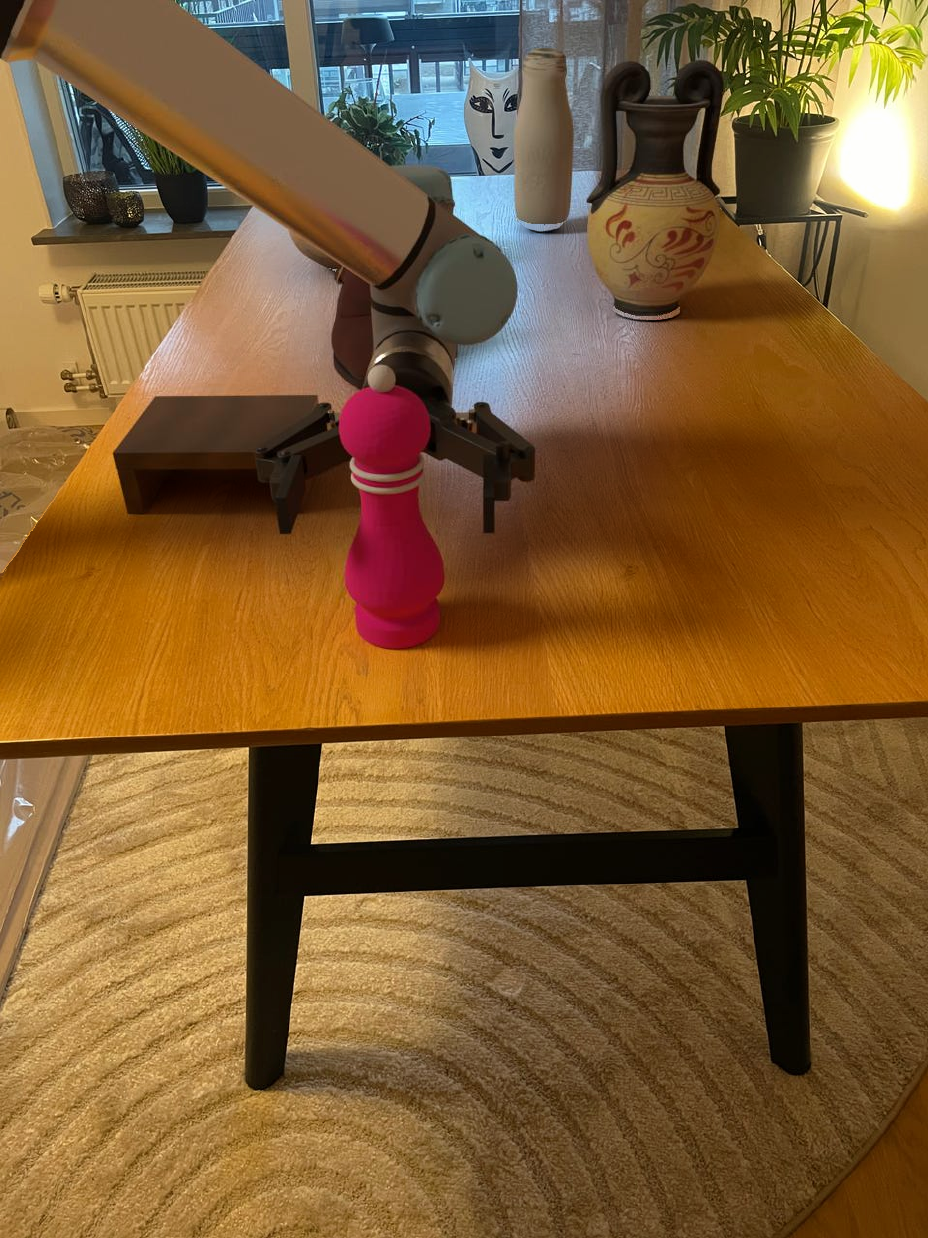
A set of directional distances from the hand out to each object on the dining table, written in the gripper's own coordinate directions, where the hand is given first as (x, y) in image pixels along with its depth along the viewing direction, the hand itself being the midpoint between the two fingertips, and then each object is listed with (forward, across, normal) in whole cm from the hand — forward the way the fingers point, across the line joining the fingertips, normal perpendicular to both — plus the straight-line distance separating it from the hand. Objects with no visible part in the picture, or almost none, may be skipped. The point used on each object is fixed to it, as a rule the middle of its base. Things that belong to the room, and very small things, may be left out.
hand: (385, 516), depth 64 cm
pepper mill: (-3, 0, -11) cm, 12 cm away
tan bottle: (-125, -16, -11) cm, 126 cm away
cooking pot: (-101, +15, -11) cm, 103 cm away
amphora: (-78, -28, -11) cm, 84 cm away
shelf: (-27, +18, -11) cm, 34 cm away
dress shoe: (-61, +8, -11) cm, 63 cm away
